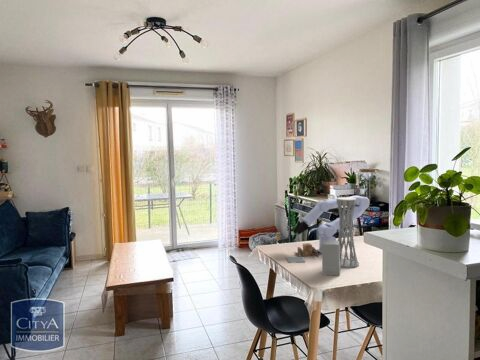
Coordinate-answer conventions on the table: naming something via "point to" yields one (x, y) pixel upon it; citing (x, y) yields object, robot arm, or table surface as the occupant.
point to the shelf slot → (312, 252)
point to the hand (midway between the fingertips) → (295, 232)
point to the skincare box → (331, 258)
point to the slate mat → (295, 259)
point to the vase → (353, 259)
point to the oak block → (307, 249)
